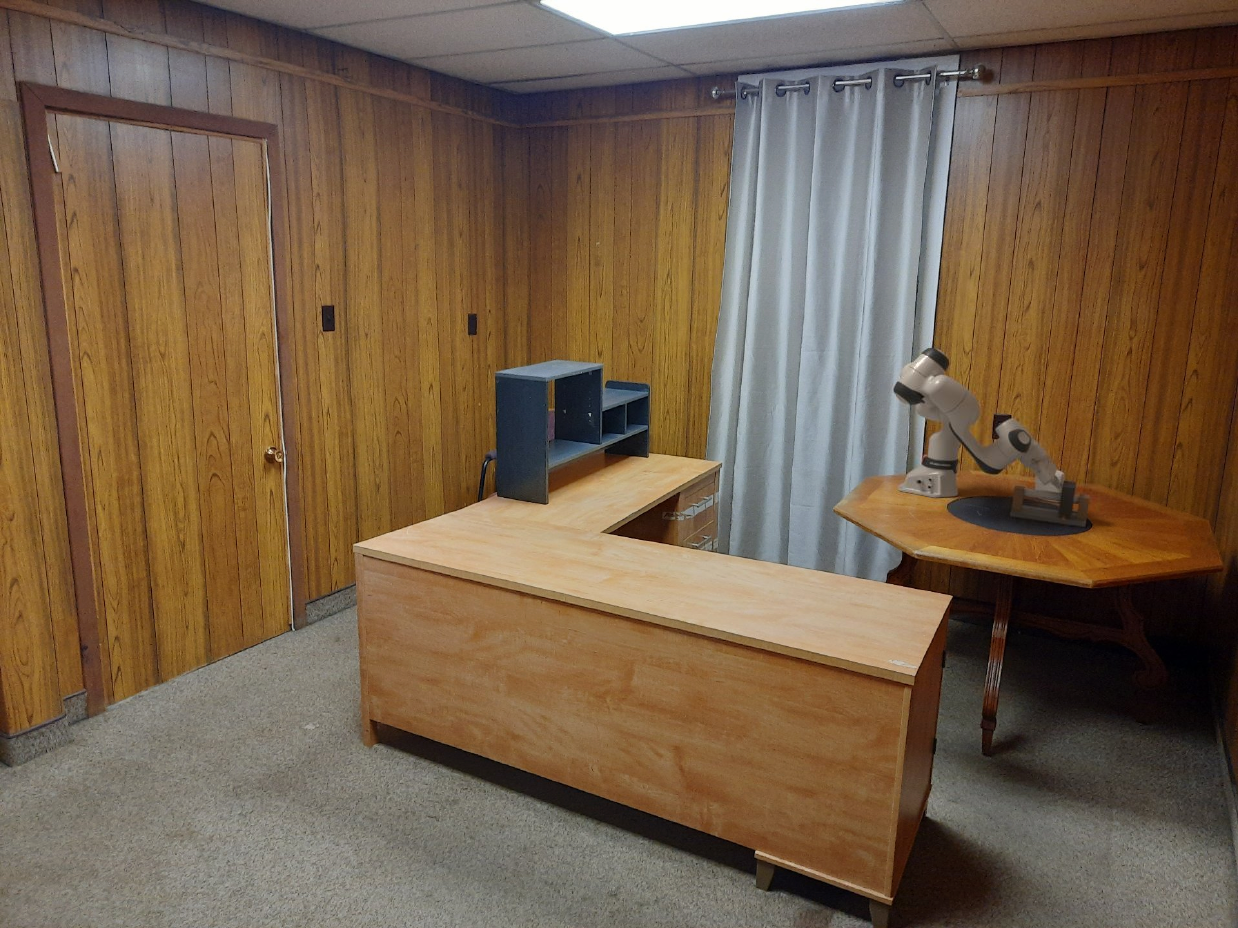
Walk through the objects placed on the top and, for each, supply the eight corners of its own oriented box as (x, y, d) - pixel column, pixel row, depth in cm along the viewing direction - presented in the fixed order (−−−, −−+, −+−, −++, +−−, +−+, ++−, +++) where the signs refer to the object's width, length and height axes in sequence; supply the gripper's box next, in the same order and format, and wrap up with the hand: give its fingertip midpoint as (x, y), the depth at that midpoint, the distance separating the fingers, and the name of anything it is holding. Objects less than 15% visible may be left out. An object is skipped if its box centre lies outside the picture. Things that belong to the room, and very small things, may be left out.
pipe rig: (1009, 516, 309) (1013, 490, 307) (1013, 508, 319) (1016, 483, 317) (1085, 527, 298) (1089, 500, 296) (1086, 518, 308) (1090, 492, 306)
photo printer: (1031, 497, 334) (1035, 467, 331) (1036, 496, 337) (1040, 465, 334) (1058, 503, 326) (1062, 472, 323) (1063, 502, 329) (1068, 470, 326)
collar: (1058, 514, 302) (1062, 486, 300) (1060, 507, 311) (1063, 480, 308) (1071, 515, 300) (1075, 488, 298) (1072, 509, 309) (1076, 482, 306)
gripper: (1038, 457, 297) (1066, 488, 294) (1043, 446, 314) (1070, 476, 311) (1022, 468, 300) (1050, 499, 297) (1028, 457, 317) (1054, 486, 315)
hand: (1060, 487), depth 304 cm, fingers closed, pressing on collar
